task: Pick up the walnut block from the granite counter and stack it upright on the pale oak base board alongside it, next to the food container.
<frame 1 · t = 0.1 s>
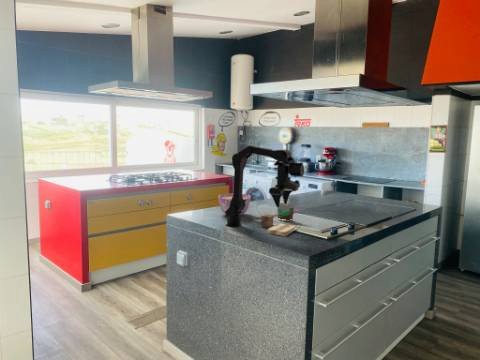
hand: (281, 205, 187), 15 cm above the countertop, tool pointing down, fingers open, 9 cm apart
walnut block: (266, 226, 203), on the countertop
food container: (282, 220, 217), on the countertop
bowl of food: (234, 215, 227), on the countertop
oak base: (281, 231, 193), on the countertop
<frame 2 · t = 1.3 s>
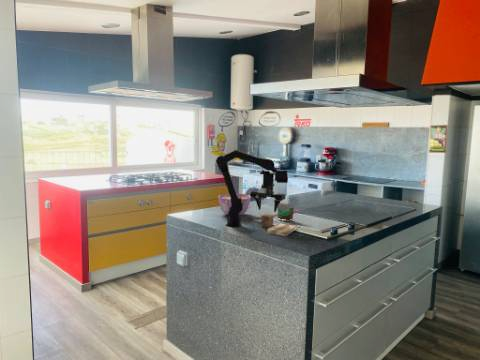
hand: (267, 210, 202), 9 cm above the countertop, tool pointing down, fingers open, 9 cm apart
nothing on the countertop moved.
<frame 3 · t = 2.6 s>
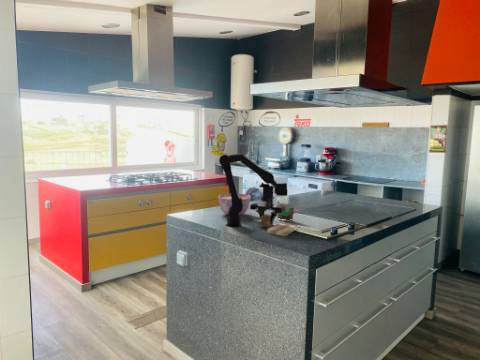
hand: (267, 223, 203), 2 cm above the countertop, tool pointing down, fingers closed on walnut block, 5 cm apart
walnut block: (266, 226, 203), on the countertop, touching gripper
everything else where it was.
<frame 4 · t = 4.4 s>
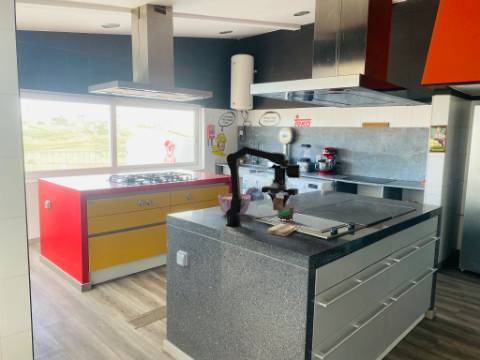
hand: (279, 206, 194), 12 cm above the countertop, tool pointing down, fingers closed on walnut block, 5 cm apart
walnut block: (279, 209, 194), point 11 cm above the countertop, touching gripper
everything else where it was.
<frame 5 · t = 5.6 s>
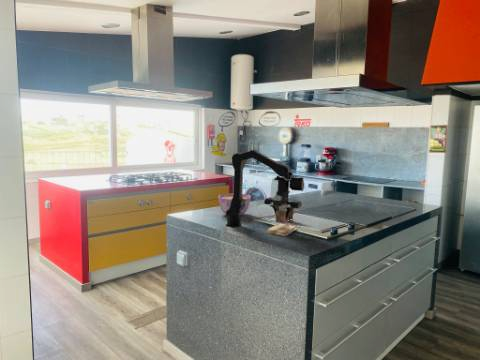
hand: (282, 218, 192), 7 cm above the countertop, tool pointing down, fingers closed on walnut block, 5 cm apart
walnut block: (282, 221, 193), point 5 cm above the countertop, touching gripper
everything else where it was.
when the fingers open (5 cm above the countertop, at t = 6.3 s): walnut block drops 1 cm, resting on oak base.
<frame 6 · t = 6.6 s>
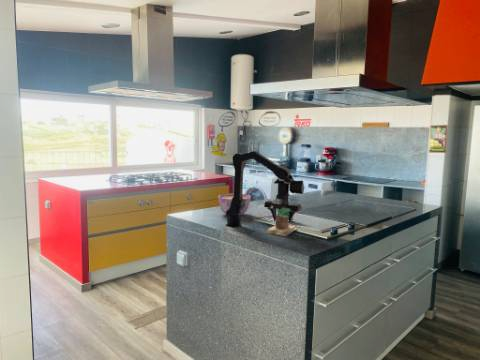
hand: (282, 222, 193), 5 cm above the countertop, tool pointing down, fingers open, 8 cm apart
walnut block: (281, 227, 193), point 2 cm above the countertop, touching oak base
everything else where it was.
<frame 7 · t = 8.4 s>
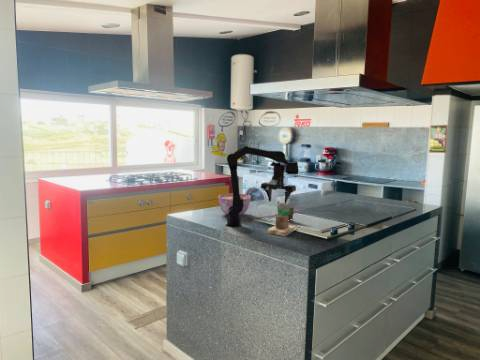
hand: (277, 202, 202), 13 cm above the countertop, tool pointing down, fingers open, 9 cm apart
nothing on the countertop moved.
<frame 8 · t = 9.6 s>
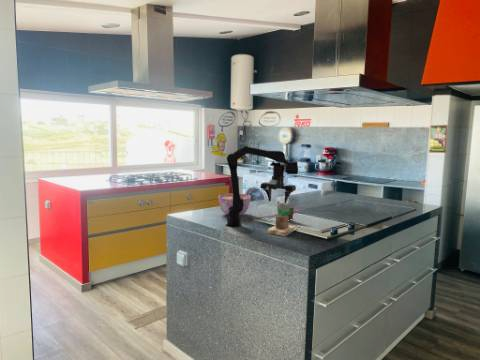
hand: (277, 202, 203), 13 cm above the countertop, tool pointing down, fingers open, 9 cm apart
nothing on the countertop moved.
at the end: walnut block inside the target area on the oak base (0.1 cm from its centre), point 2.0 cm above the oak base's base; walnut block tilted 0°; the gripper is holding nothing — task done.
